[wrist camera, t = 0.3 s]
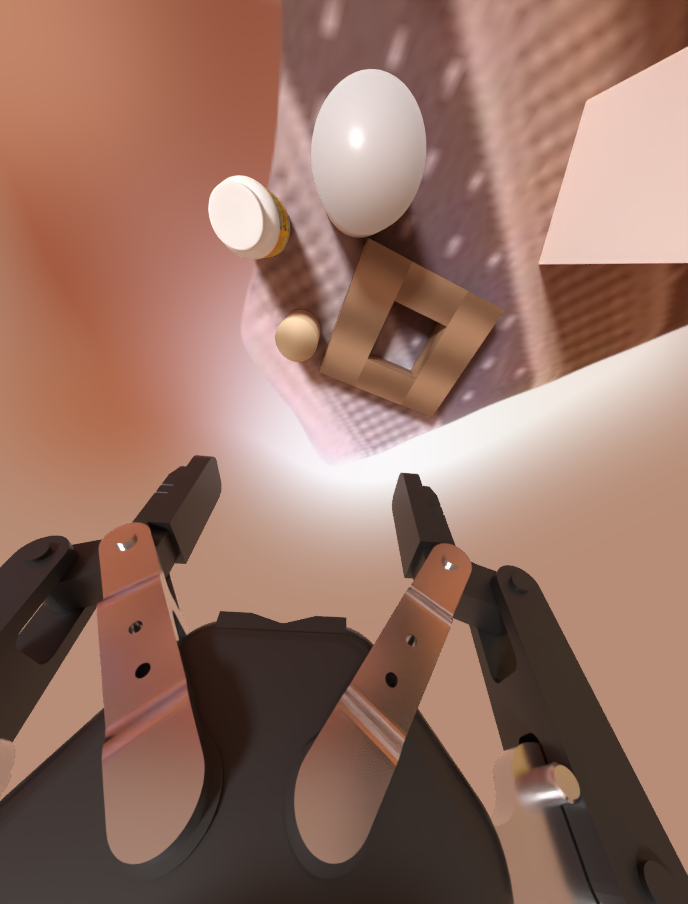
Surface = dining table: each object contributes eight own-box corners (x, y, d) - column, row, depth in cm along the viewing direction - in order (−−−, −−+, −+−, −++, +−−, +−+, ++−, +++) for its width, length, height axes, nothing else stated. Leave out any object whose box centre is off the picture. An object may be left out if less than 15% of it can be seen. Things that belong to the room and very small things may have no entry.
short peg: (289, 302, 33) (281, 310, 28) (325, 319, 34) (323, 328, 29) (279, 340, 35) (270, 352, 31) (313, 354, 36) (309, 367, 32)
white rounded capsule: (338, 108, 24) (336, 35, 16) (416, 157, 26) (449, 114, 18) (310, 215, 28) (296, 201, 20) (378, 251, 30) (391, 252, 22)
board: (366, 239, 29) (369, 238, 26) (491, 305, 33) (503, 310, 30) (320, 363, 37) (319, 372, 34) (426, 406, 40) (431, 417, 38)
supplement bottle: (225, 216, 28) (181, 203, 20) (265, 174, 26) (232, 142, 18) (263, 269, 31) (237, 276, 23) (302, 234, 29) (287, 229, 21)
